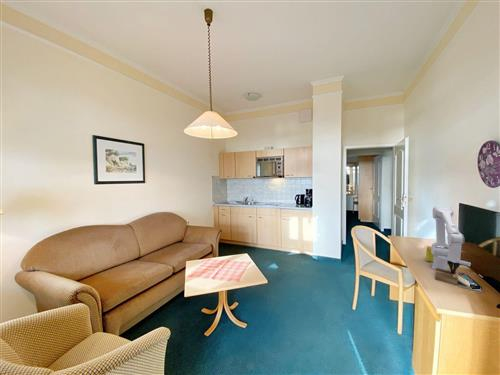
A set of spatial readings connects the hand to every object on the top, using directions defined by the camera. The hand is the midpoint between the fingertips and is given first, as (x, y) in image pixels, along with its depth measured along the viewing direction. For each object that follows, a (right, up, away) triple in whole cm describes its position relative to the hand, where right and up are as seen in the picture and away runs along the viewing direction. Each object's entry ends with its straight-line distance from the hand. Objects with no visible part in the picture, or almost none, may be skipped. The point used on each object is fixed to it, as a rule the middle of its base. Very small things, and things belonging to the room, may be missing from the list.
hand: (452, 273), depth 131 cm
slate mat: (+5, -5, -5) cm, 9 cm away
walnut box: (-2, -5, +2) cm, 6 cm away
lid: (+3, -3, -3) cm, 5 cm away
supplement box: (+12, -3, +30) cm, 32 cm away
